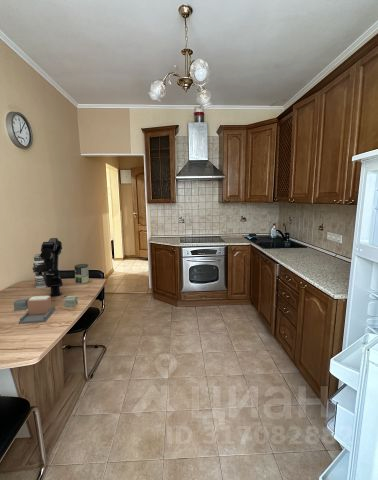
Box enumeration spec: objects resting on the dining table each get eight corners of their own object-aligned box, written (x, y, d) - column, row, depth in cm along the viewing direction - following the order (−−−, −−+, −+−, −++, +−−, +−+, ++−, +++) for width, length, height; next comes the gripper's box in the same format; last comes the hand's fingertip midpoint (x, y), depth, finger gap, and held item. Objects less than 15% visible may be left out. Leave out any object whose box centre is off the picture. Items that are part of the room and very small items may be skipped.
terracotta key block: (33, 310, 146) (31, 296, 144) (51, 309, 147) (50, 295, 146) (28, 314, 140) (27, 300, 138) (47, 313, 142) (46, 299, 140)
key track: (31, 311, 147) (31, 307, 147) (55, 309, 150) (55, 305, 149) (18, 323, 132) (18, 319, 131) (45, 321, 134) (45, 317, 134)
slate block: (19, 306, 154) (18, 299, 153) (29, 306, 155) (29, 298, 154) (14, 310, 148) (13, 302, 147) (25, 310, 149) (24, 302, 148)
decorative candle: (51, 284, 196) (48, 253, 192) (44, 288, 187) (42, 255, 183) (39, 284, 195) (36, 253, 192) (32, 288, 186) (29, 255, 183)
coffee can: (74, 285, 194) (73, 267, 192) (75, 281, 204) (74, 264, 202) (88, 283, 198) (88, 266, 196) (89, 279, 207) (88, 263, 205)
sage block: (67, 303, 159) (67, 296, 158) (77, 303, 160) (77, 295, 159) (64, 307, 153) (64, 299, 152) (75, 307, 154) (74, 299, 153)
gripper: (28, 261, 157) (26, 286, 154) (41, 259, 146) (38, 286, 143) (47, 262, 166) (45, 286, 163) (60, 260, 154) (58, 285, 151)
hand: (46, 286), depth 155 cm, fingers closed
